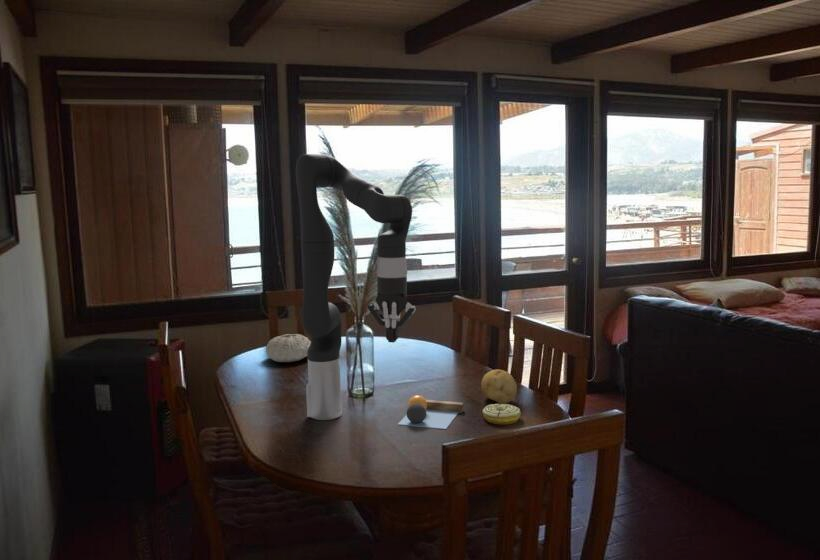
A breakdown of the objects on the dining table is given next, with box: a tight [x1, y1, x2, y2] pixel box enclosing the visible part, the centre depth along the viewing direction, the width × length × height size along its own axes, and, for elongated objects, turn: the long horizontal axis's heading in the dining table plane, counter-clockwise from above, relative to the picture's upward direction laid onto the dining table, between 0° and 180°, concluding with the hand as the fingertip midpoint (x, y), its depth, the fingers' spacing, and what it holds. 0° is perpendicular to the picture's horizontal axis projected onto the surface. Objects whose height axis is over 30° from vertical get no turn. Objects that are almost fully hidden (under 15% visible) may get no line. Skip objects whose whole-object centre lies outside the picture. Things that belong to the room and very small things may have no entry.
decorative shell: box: [265, 333, 311, 363], centre depth 260 cm, size 18×18×10 cm
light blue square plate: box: [397, 409, 460, 430], centre depth 191 cm, size 14×14×1 cm
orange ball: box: [407, 394, 427, 410], centre depth 195 cm, size 6×6×6 cm
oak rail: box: [426, 399, 465, 414], centre depth 198 cm, size 16×2×2 cm, turn 71°
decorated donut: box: [482, 403, 522, 426], centre depth 189 cm, size 10×11×4 cm
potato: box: [480, 369, 518, 404], centre depth 204 cm, size 10×12×10 cm
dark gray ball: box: [406, 404, 426, 423], centre depth 188 cm, size 6×6×6 cm
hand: (392, 341), depth 171 cm, fingers closed
